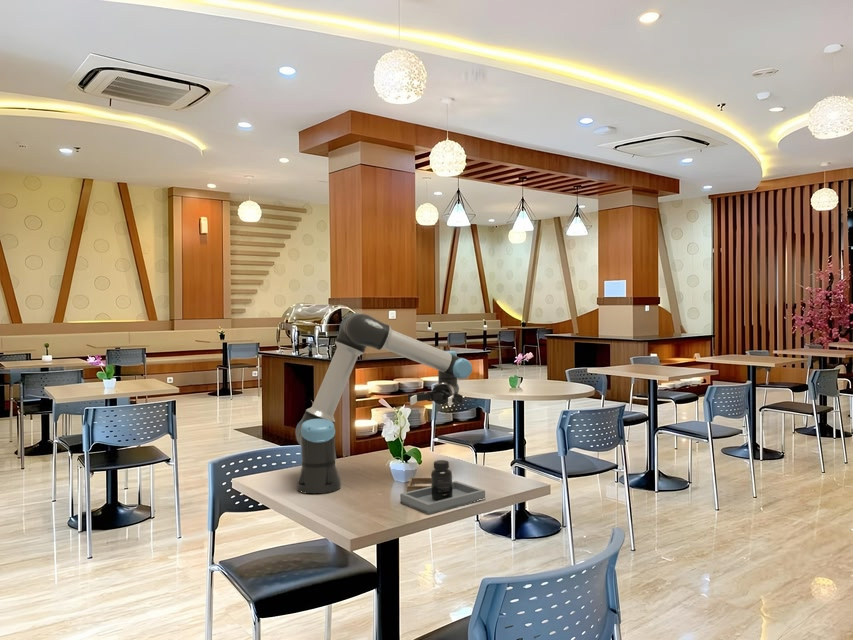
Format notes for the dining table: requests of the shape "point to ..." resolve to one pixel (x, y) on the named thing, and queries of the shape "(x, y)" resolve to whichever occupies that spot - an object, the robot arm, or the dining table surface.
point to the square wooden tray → (417, 480)
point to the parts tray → (427, 505)
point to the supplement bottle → (441, 481)
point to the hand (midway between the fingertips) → (430, 401)
